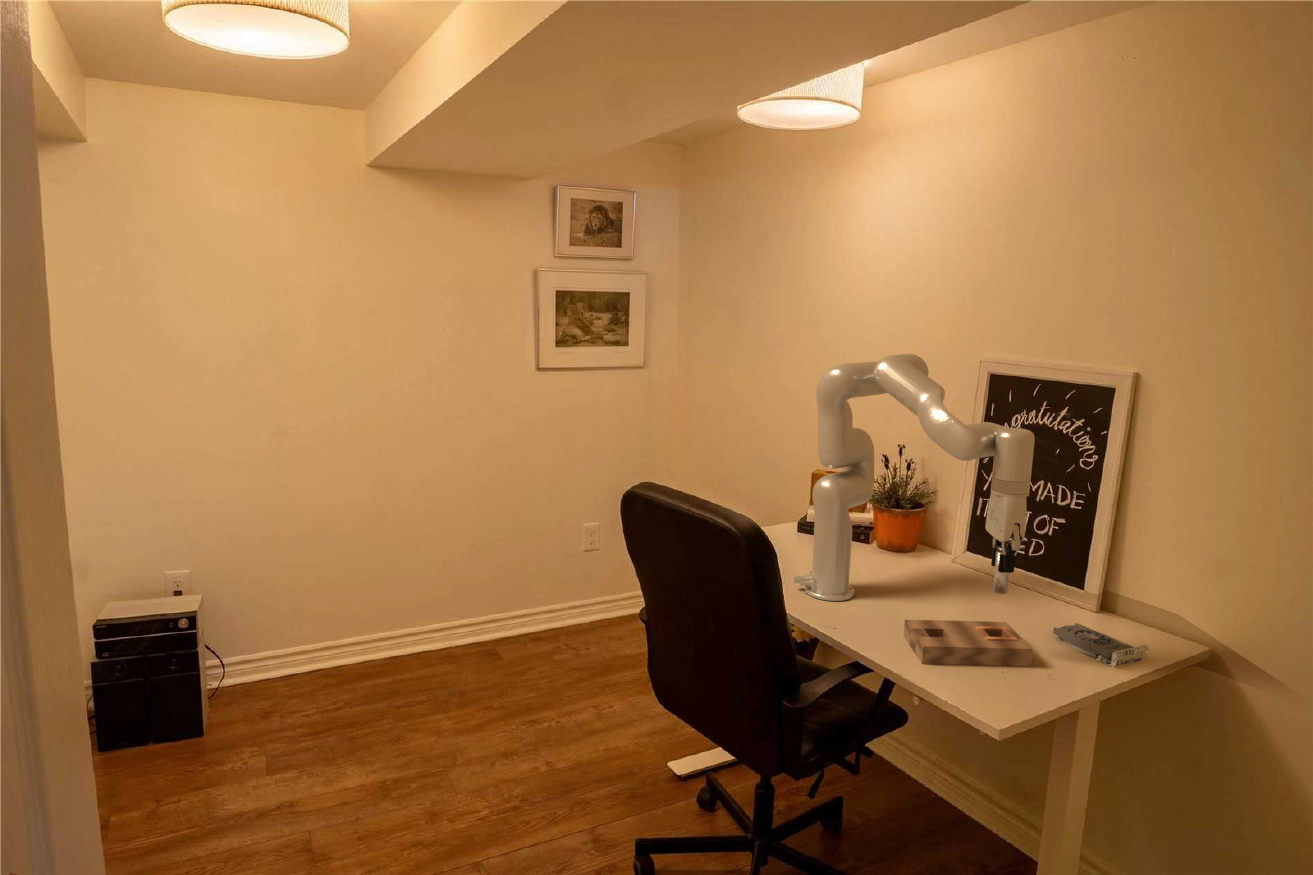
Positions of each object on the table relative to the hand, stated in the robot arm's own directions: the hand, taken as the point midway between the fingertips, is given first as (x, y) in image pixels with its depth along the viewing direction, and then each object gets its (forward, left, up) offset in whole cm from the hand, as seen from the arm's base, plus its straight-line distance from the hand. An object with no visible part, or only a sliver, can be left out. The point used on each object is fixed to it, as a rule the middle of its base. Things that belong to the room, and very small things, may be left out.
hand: (1002, 568), depth 178 cm
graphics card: (+24, +3, -20) cm, 32 cm away
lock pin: (0, 0, -5) cm, 5 cm away
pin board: (-6, 0, -19) cm, 20 cm away
